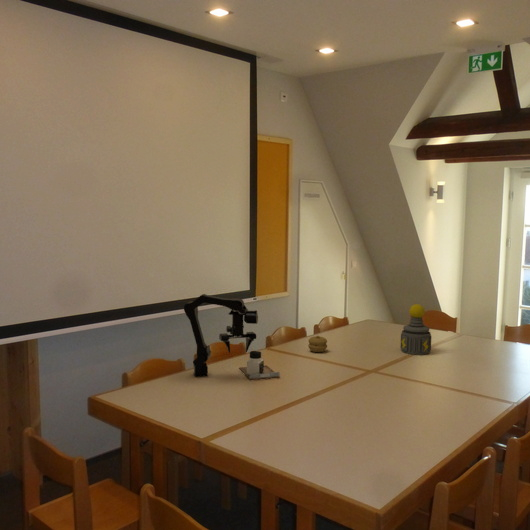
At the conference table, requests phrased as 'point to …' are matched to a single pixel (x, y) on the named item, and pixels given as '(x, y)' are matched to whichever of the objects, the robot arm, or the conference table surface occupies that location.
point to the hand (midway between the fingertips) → (237, 352)
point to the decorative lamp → (416, 334)
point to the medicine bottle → (255, 363)
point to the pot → (317, 344)
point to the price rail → (264, 375)
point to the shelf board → (266, 370)
